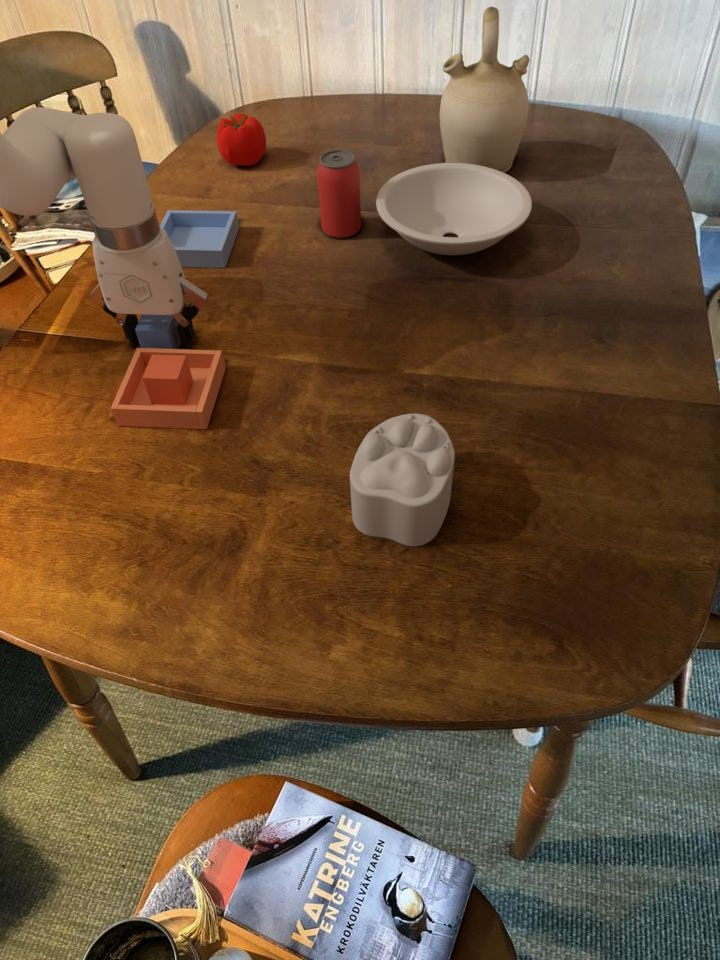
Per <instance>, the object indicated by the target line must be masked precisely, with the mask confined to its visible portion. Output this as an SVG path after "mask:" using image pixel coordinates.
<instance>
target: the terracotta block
mask: <svg viewBox="0 0 720 960" xmlns="http://www.w3.org/2000/svg"><path fill="white" fill-rule="evenodd" d="M143 381H144V384H145V387H146V390H147V392H148V395H149V398H150V401H151V404H168V405H185V404H186V402H187V399H188V396H189V393H190V390H191V387H192V384H193V379H192V375H191V371H190V368H189V364H188V361H187V357H186V356H185V355H154V354H152V356H151V358H150V361H149V363H148V366H147V368H146V370H145V373H144V375H143Z"/></svg>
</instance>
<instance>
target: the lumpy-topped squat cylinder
mask: <svg viewBox="0 0 720 960" xmlns="http://www.w3.org/2000/svg"><path fill="white" fill-rule="evenodd" d="M455 460H456V453H455V448H454V445H453V443H452V440H451V438H450V435H449V434H448V432H447V430H446V429H445V427H443V425H441V424H440V423H439V422H438V421H437V420H436V419H434V418H433V417H431V416H429V415H426V414H422V413H406V414H400V415H396V416H394V417H390V418H388V419H386V420H384V421H382V422H381V423H380V424H378V425H376V426H374V427H373V428H372V429H370V430H369V431H368V433H367V434H366V435H365V436H364V438H363V439H362V441H361V443H360V444H359V446H358V448H357V450H356V452H355V455H354V459H353V461H352V464H351V467H350V471H349V485H350V487H349V488H350V503H351V504H350V505H351V518H352V522H353V525H354V527H355V528H356V530H357V531H359V532H360V533H361V532H362V533H361V534H363V535H366V536H369V537H375V538H383V539H388V540H391V541H394V542H396V543H399V544H400V545H404V546H408V547H421V546H424V545H426V544H428V543H430V542H431V541H432V540H434V538H435V537H436V536H437V535H438V533H439V531H440V530H441V528H442V525H443V524H444V521H445V519H446V516H447V513H448V510H449V508H450V507H449V506H450V502H451V498H452V488H453V477H454V468H455Z"/></svg>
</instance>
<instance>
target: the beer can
mask: <svg viewBox="0 0 720 960" xmlns="http://www.w3.org/2000/svg"><path fill="white" fill-rule="evenodd" d="M356 158H357V157H356V155H355V154H354V153H353V152H351V151H349V150H346V149H331V150H328V151H326V152H324V153H322V154H321V155H320V157H319V163H318V166H317V174H316V176H317V189H318V202H319V213H320V215H319V216H320V226H321V230H322V232H323V233H324V234H325V235H326V236H329V237H331V238H335V239H346V238H350V237H352V236H355V235H356V234H358V233H359V231H360V230H361V228H362V213H361V212H362V211H361V210H362V209H361V208H362V207H361V180H360V177H361V176H360V167H359V165H358V163H357V160H356Z"/></svg>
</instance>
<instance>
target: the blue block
mask: <svg viewBox="0 0 720 960" xmlns="http://www.w3.org/2000/svg"><path fill="white" fill-rule="evenodd" d="M138 322H139V323H138V325H137V327H136V329H135V331H136V334H137V337H138V340H139V346H140V348H158V349H180V345H181V341H180V338H179V334H178V331H177V326H178V321H177V320H176V319H175V318H174V317H173V316H172V315H140V318H139V319H138Z"/></svg>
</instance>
